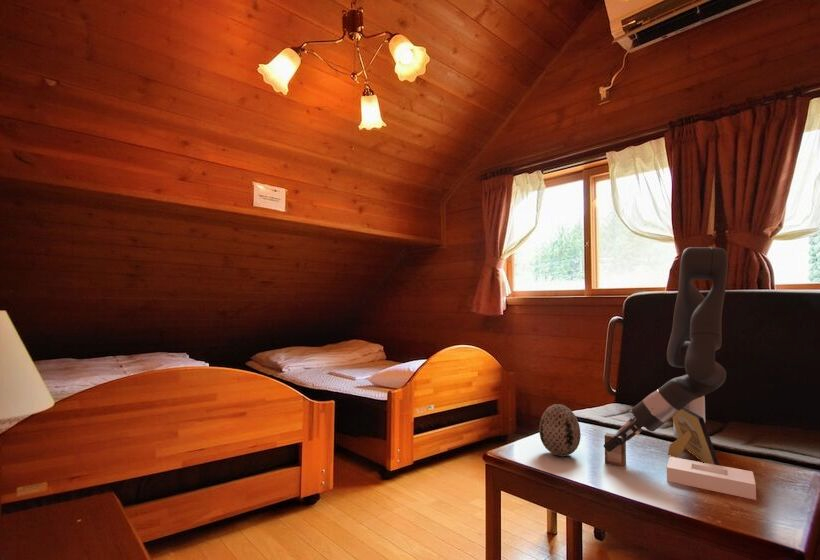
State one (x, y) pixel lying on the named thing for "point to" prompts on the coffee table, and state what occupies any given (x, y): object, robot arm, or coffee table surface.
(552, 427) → the decorative egg
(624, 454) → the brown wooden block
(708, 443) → the picture frame
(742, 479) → the notch stand
